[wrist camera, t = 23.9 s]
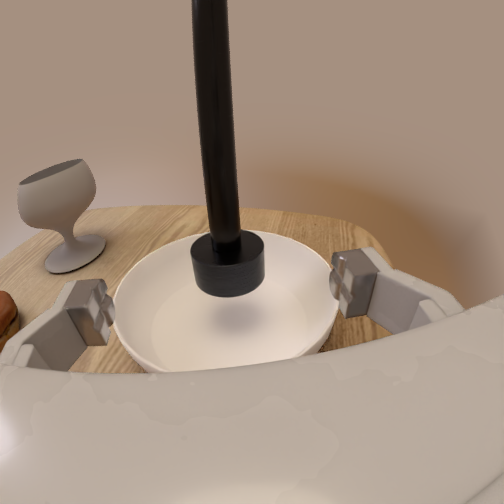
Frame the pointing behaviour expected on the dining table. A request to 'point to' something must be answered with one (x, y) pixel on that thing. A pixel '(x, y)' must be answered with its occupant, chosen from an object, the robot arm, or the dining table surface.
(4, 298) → the burger
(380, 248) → the dining table surface
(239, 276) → the rod on round base
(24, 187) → the chalice
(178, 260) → the bowl
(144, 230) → the dining table surface
